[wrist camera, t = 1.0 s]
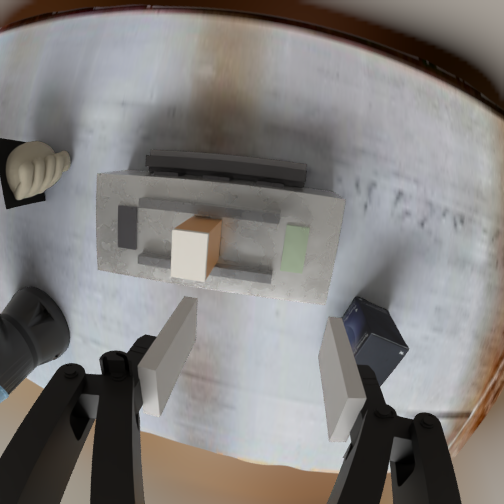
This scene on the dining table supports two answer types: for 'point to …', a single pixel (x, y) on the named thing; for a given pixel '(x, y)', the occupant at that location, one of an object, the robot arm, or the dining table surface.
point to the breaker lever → (195, 248)
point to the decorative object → (29, 170)
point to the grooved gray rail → (228, 166)
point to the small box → (374, 338)
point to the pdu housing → (232, 231)
